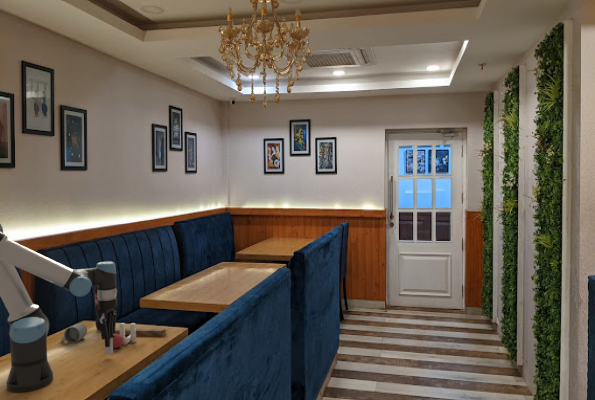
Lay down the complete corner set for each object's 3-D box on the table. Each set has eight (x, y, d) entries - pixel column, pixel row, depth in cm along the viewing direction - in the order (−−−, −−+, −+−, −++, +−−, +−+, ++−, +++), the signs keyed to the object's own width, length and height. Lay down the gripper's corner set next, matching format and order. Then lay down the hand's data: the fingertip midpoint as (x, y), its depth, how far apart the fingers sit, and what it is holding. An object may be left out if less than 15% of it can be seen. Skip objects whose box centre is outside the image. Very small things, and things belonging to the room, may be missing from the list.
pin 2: (130, 343, 215) (130, 325, 215) (130, 341, 217) (129, 323, 217) (136, 342, 216) (135, 324, 216) (135, 340, 218) (135, 322, 218)
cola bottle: (100, 326, 241) (98, 268, 239) (116, 326, 240) (114, 268, 239) (92, 331, 232) (90, 272, 231) (109, 331, 232) (107, 272, 230)
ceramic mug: (88, 337, 224) (87, 321, 224) (80, 343, 216) (79, 327, 215) (67, 337, 224) (66, 322, 224) (57, 343, 216) (56, 327, 216)
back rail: (165, 333, 227) (165, 328, 227) (163, 335, 224) (163, 330, 224) (117, 333, 229) (117, 328, 229) (115, 335, 226) (114, 330, 226)
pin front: (124, 338, 213) (131, 332, 221) (121, 343, 213) (129, 336, 222) (128, 341, 213) (135, 335, 221) (125, 346, 213) (133, 339, 222)
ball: (118, 348, 212) (116, 352, 207) (107, 341, 211) (104, 345, 206) (126, 337, 213) (124, 340, 207) (115, 330, 212) (113, 333, 206)
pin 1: (120, 343, 215) (119, 325, 215) (119, 341, 217) (119, 323, 217) (125, 342, 216) (125, 324, 216) (125, 340, 218) (124, 322, 218)
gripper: (108, 302, 190) (110, 359, 191) (122, 294, 203) (124, 347, 204) (91, 302, 190) (93, 359, 191) (105, 294, 203) (107, 347, 204)
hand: (109, 353), depth 198 cm, fingers closed
